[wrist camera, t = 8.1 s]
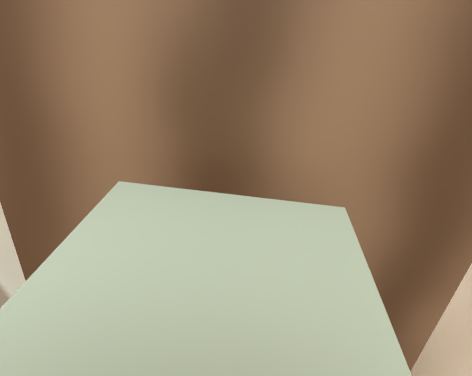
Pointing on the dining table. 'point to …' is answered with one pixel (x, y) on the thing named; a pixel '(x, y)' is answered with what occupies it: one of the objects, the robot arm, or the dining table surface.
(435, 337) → the dining table surface
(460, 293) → the dining table surface
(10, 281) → the dining table surface
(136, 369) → the sage cube
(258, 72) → the walnut board
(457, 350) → the dining table surface
